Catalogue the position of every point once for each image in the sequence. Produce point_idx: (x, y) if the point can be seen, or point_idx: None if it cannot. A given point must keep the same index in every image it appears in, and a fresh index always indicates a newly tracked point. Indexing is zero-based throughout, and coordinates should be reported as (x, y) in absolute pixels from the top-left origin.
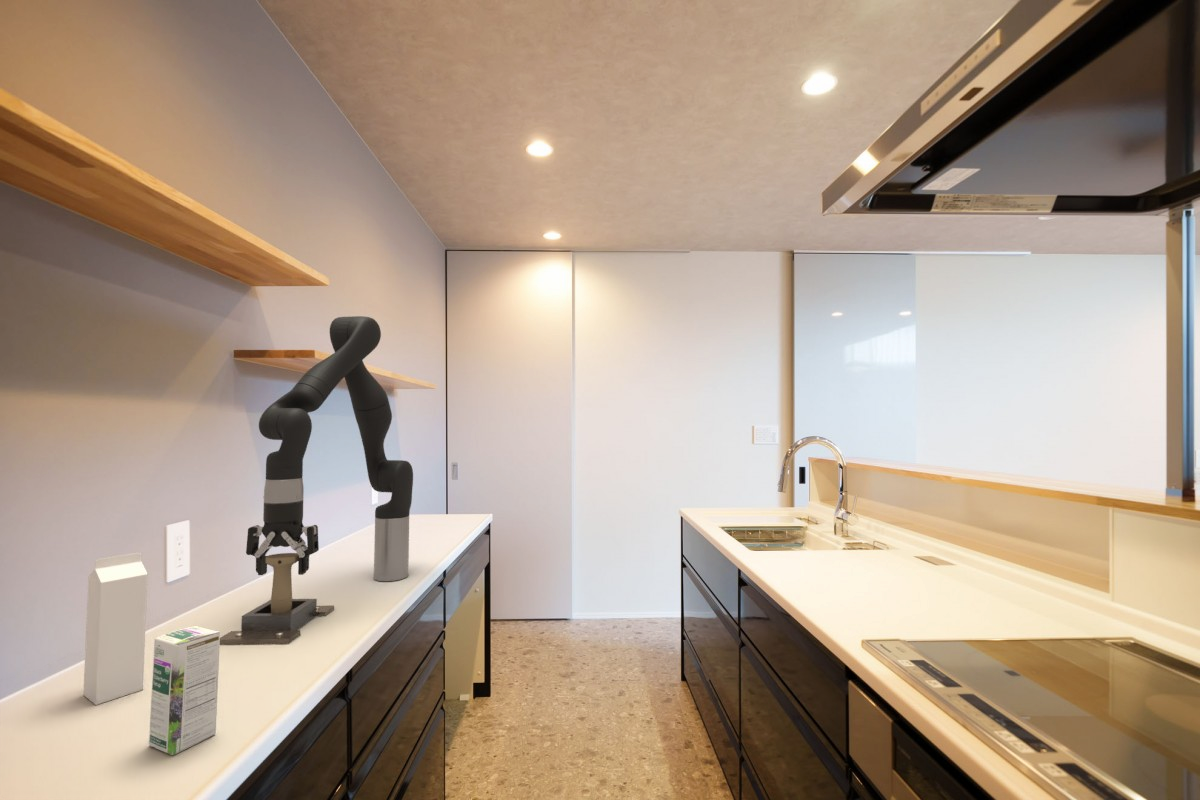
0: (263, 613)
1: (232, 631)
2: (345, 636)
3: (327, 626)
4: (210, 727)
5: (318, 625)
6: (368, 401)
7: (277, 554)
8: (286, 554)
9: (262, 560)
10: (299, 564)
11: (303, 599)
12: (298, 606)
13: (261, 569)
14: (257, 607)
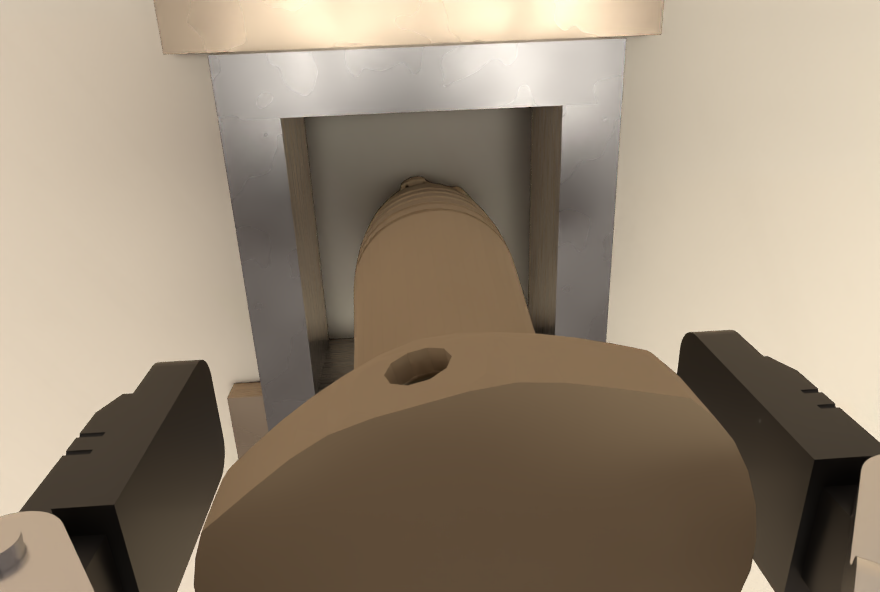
0: None
1: (241, 405)
2: (870, 362)
3: (727, 223)
4: None
5: (665, 208)
6: None
7: (310, 507)
8: (495, 500)
9: (162, 586)
10: None
11: (515, 66)
12: (562, 249)
13: (207, 508)
14: (248, 280)
